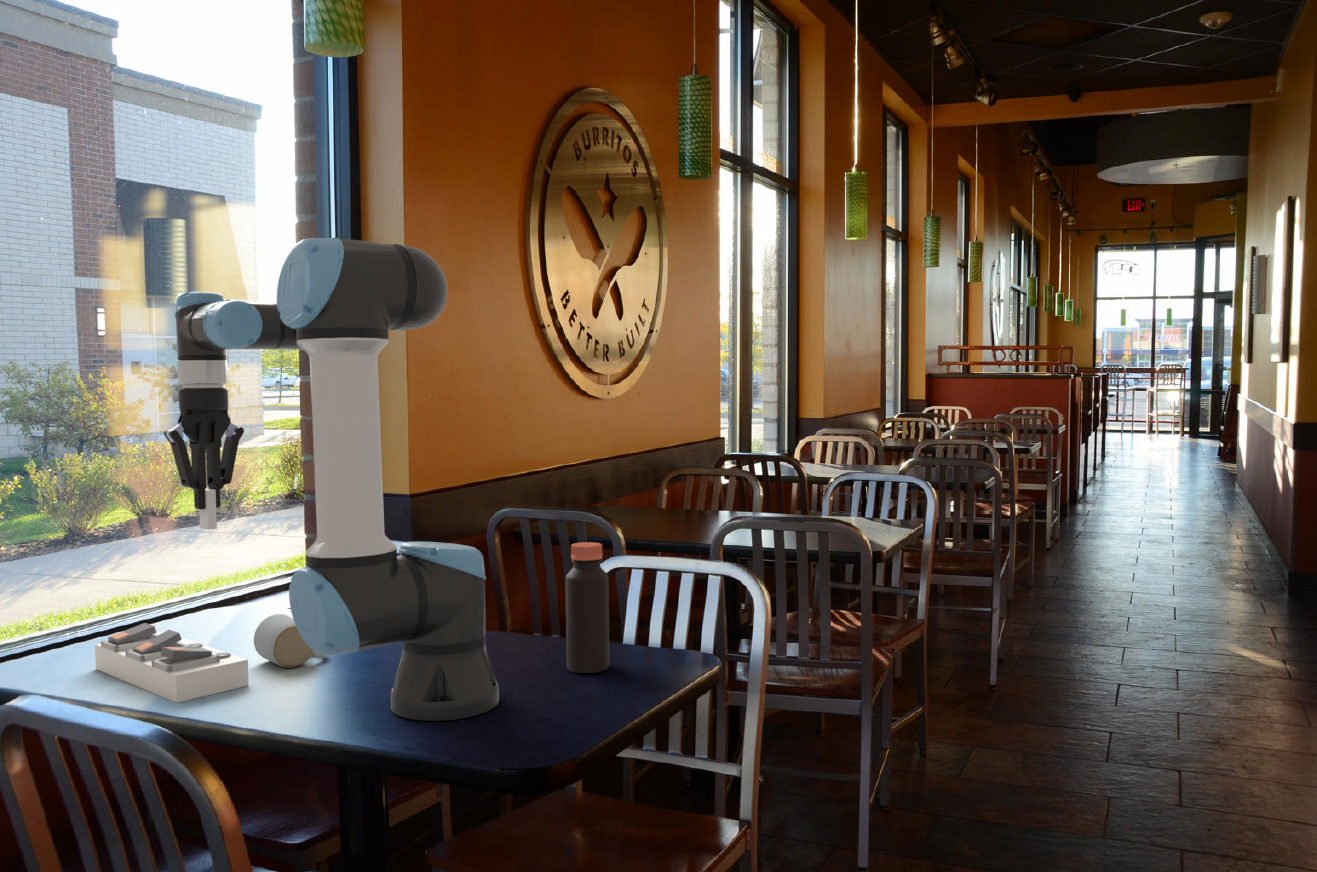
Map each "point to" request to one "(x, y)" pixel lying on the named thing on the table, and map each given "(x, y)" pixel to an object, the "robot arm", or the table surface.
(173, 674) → the white rocker switch box
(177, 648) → the rocker
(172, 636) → the rocker middle
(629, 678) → the table surface
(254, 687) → the table surface
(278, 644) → the ceramic mug
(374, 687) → the table surface
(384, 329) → the robot arm
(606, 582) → the bottle
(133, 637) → the rocker
